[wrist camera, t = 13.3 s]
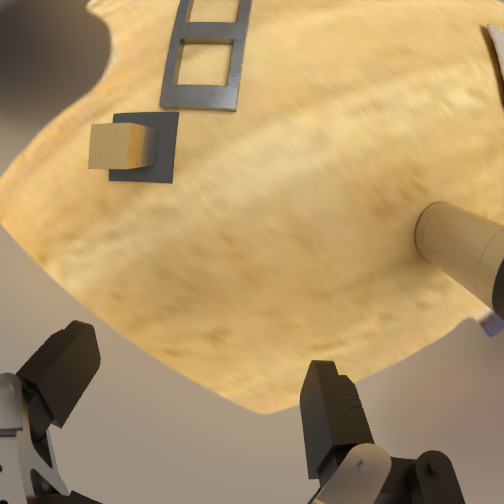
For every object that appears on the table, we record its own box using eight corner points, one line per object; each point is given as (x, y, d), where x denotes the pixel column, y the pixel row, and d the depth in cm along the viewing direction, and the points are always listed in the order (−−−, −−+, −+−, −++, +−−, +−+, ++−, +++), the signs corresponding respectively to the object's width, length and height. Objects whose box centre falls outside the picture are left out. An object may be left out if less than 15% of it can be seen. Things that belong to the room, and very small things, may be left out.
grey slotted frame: (256, -23, 23) (256, -31, 21) (236, 111, 30) (235, 108, 28) (192, -24, 23) (189, -31, 21) (164, 108, 30) (159, 106, 28)
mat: (179, 112, 30) (178, 112, 30) (172, 183, 33) (171, 183, 33) (115, 114, 30) (113, 113, 29) (110, 180, 33) (108, 180, 32)
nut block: (159, 129, 31) (130, 122, 22) (156, 164, 32) (126, 169, 24) (127, 129, 30) (91, 124, 22) (124, 163, 32) (88, 168, 23)
